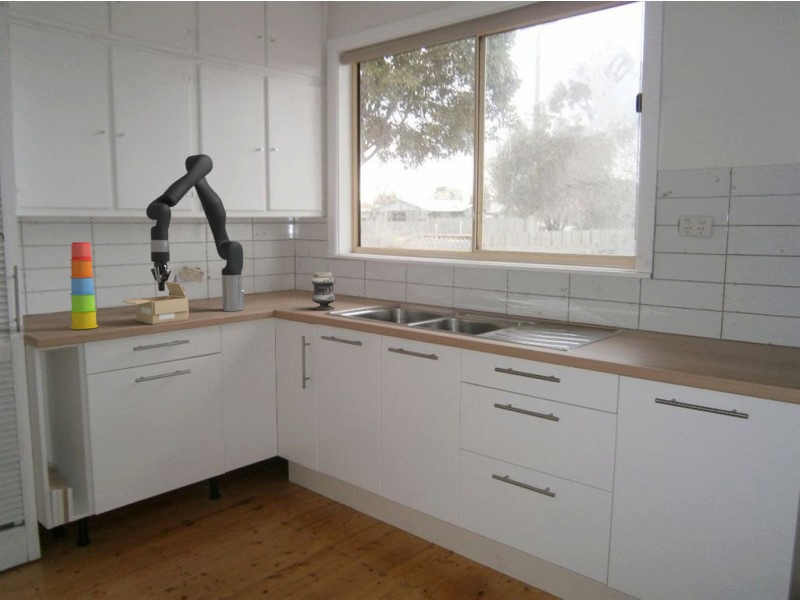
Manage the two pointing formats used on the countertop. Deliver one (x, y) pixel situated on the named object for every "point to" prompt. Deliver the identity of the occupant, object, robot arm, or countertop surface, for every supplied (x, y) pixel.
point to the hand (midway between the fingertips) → (161, 290)
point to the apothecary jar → (323, 290)
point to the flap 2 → (175, 288)
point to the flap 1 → (136, 301)
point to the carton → (163, 310)
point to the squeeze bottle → (176, 280)
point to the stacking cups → (82, 287)
